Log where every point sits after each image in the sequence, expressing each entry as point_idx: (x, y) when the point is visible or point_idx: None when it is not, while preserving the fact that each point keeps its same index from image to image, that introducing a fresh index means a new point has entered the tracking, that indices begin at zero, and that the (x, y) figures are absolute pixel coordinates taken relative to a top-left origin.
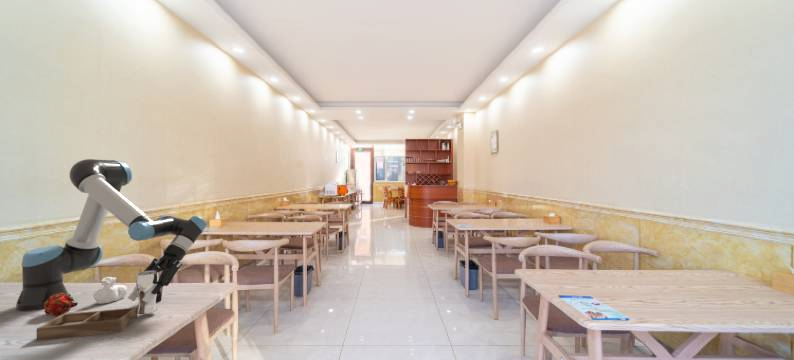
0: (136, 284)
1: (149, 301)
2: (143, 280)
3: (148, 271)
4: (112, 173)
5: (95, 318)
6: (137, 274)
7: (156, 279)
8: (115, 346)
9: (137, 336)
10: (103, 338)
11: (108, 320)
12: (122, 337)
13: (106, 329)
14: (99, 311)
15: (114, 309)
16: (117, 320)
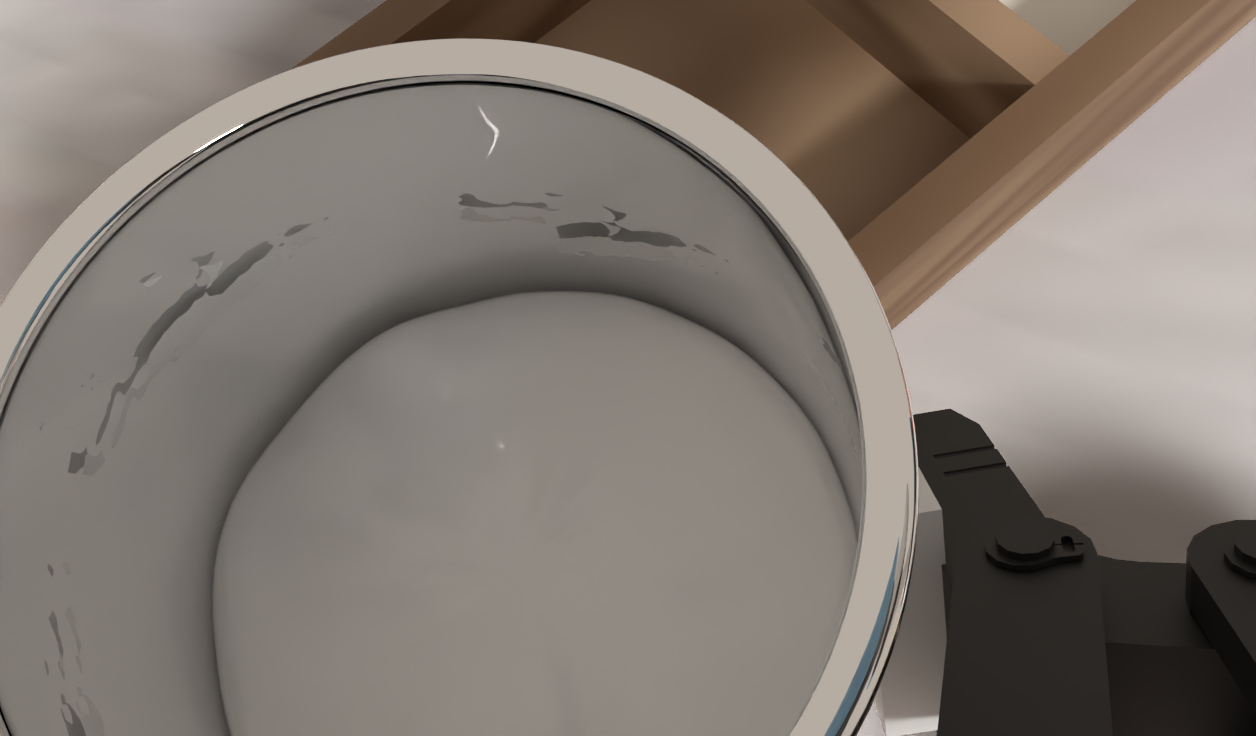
0: (587, 236)
1: None
2: (252, 254)
3: (797, 718)
4: None
5: (904, 24)
6: (553, 58)
7: (124, 726)
8: (11, 3)
9: (2, 216)
10: (355, 16)
11: (852, 201)
12: (159, 124)
13: None
14: (1066, 74)
15: (937, 229)
16: (324, 57)
